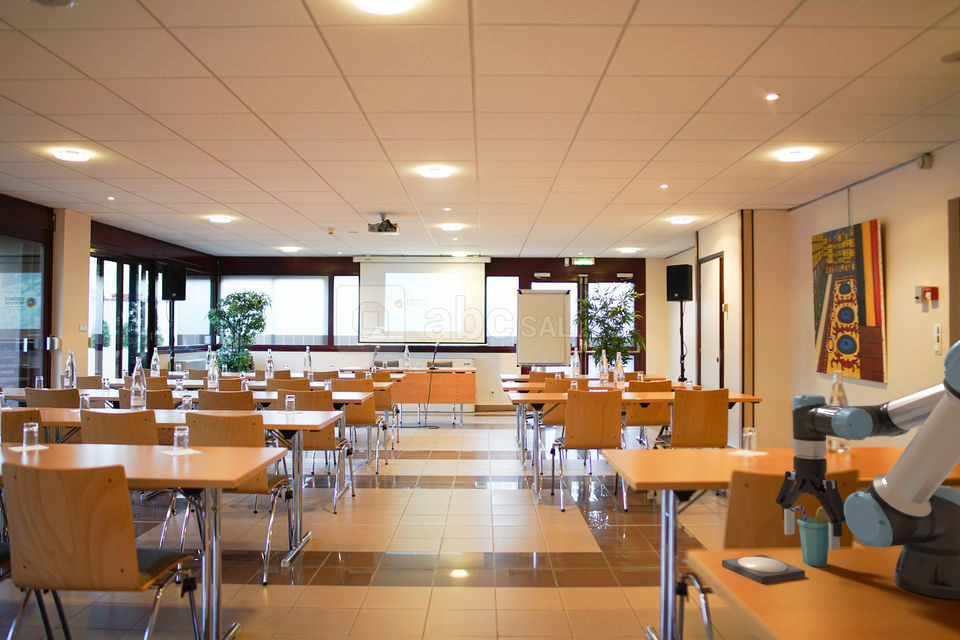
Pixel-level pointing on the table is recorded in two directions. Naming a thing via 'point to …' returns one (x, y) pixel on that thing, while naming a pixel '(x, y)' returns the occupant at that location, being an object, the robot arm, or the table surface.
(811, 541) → the cup
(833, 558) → the table surface
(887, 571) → the table surface
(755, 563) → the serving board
